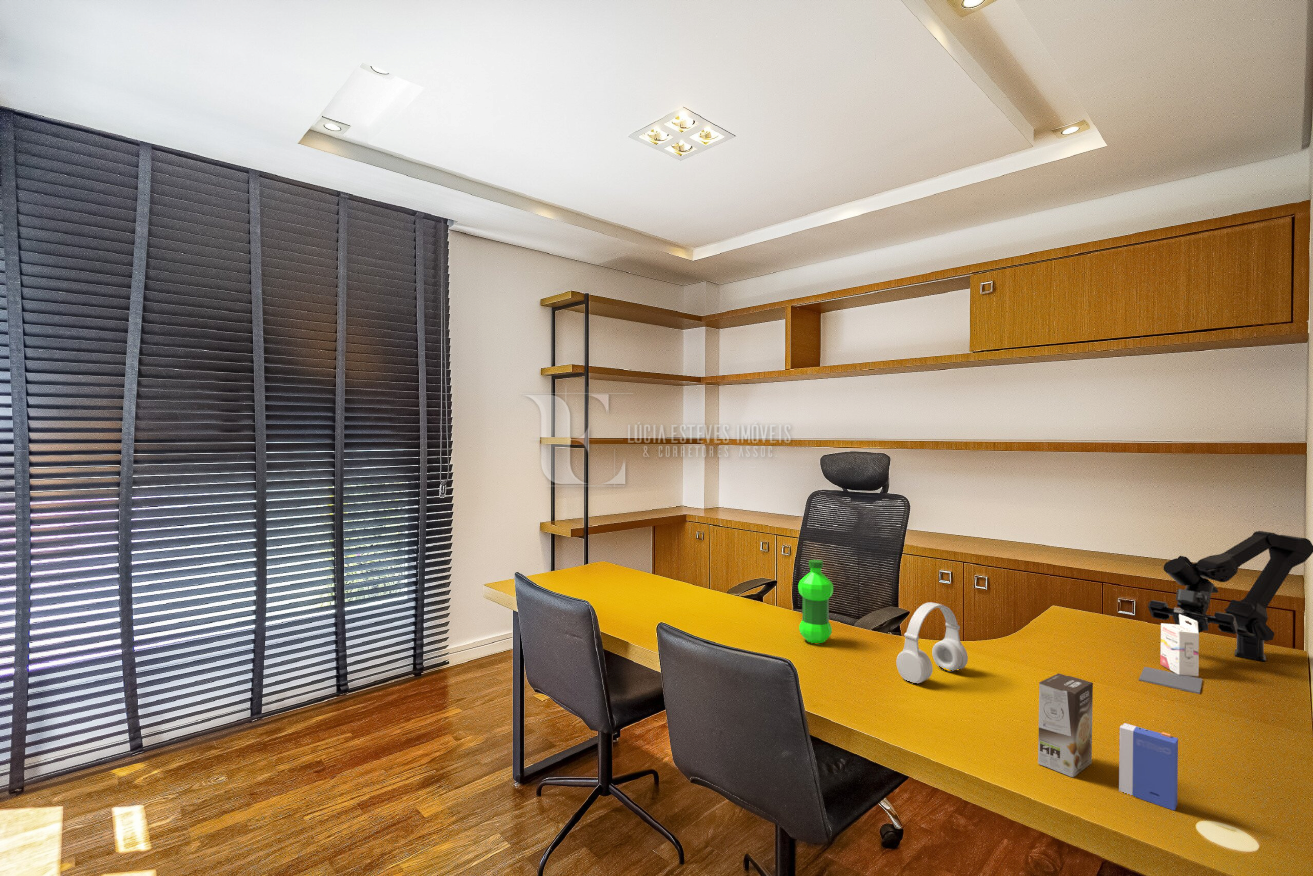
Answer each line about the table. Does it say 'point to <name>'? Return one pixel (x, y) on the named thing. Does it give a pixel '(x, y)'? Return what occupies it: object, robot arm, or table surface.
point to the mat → (1171, 680)
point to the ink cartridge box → (1180, 647)
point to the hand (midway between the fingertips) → (1184, 641)
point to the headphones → (944, 652)
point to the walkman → (1148, 765)
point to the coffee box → (1065, 724)
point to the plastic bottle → (815, 604)
